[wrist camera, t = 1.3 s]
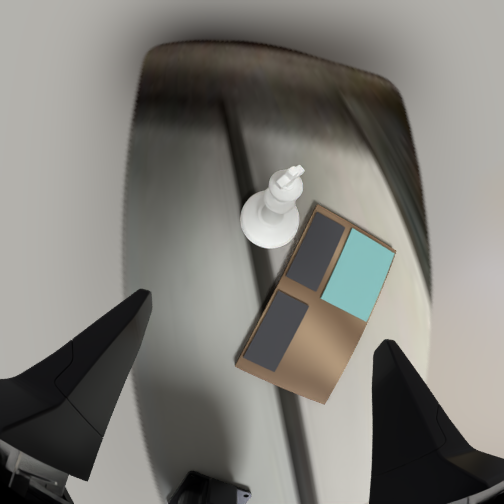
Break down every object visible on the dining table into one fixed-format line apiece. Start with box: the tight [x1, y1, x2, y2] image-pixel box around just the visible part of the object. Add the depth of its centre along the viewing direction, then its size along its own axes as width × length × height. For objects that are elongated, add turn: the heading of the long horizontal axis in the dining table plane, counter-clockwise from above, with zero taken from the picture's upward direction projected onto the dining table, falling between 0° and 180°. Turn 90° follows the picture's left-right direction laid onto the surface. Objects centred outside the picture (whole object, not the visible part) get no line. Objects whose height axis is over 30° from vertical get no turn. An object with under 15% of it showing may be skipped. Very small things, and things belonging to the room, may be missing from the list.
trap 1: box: [286, 212, 345, 292], centre depth 23 cm, size 6×3×1 cm, turn 153°
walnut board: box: [235, 204, 396, 405], centre depth 23 cm, size 15×8×1 cm, turn 153°
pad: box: [321, 228, 395, 322], centre depth 23 cm, size 7×5×1 cm
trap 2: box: [243, 291, 309, 372], centre depth 22 cm, size 6×3×1 cm, turn 152°
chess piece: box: [240, 165, 305, 248], centre depth 19 cm, size 5×5×10 cm
